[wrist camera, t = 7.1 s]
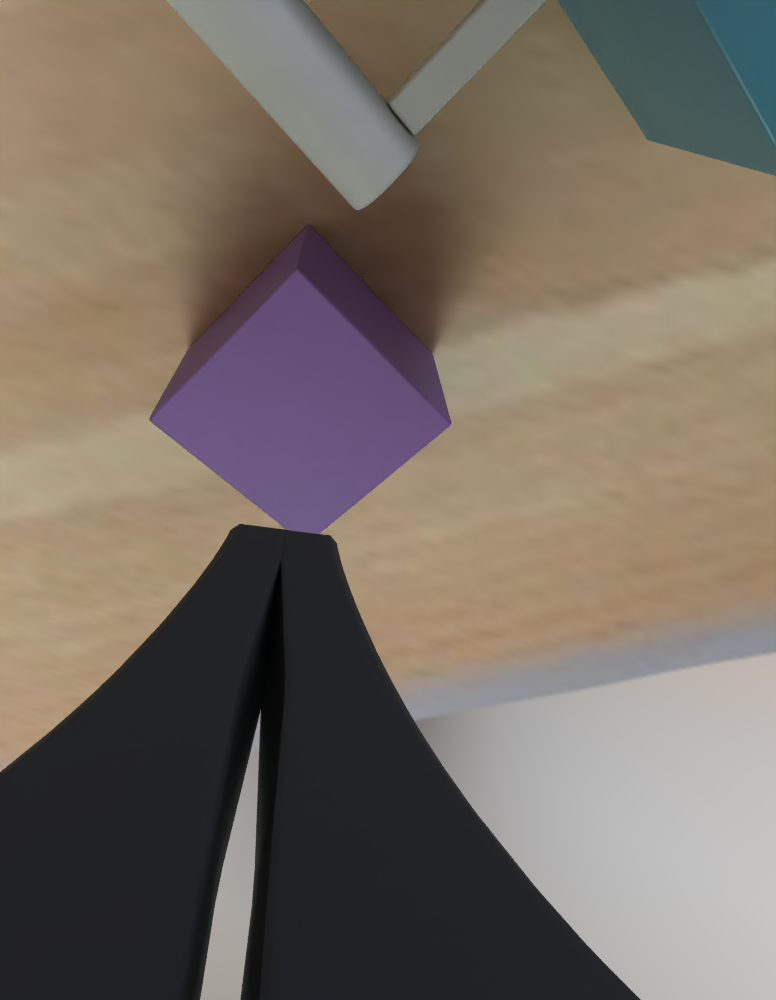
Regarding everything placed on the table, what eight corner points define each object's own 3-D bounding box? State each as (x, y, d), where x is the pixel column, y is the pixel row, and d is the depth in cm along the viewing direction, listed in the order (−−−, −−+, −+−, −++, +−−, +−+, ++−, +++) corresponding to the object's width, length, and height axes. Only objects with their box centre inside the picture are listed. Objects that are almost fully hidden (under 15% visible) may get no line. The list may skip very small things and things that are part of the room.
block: (434, 355, 18) (453, 424, 15) (314, 461, 19) (305, 546, 16) (308, 223, 16) (296, 266, 13) (186, 350, 18) (146, 420, 14)
